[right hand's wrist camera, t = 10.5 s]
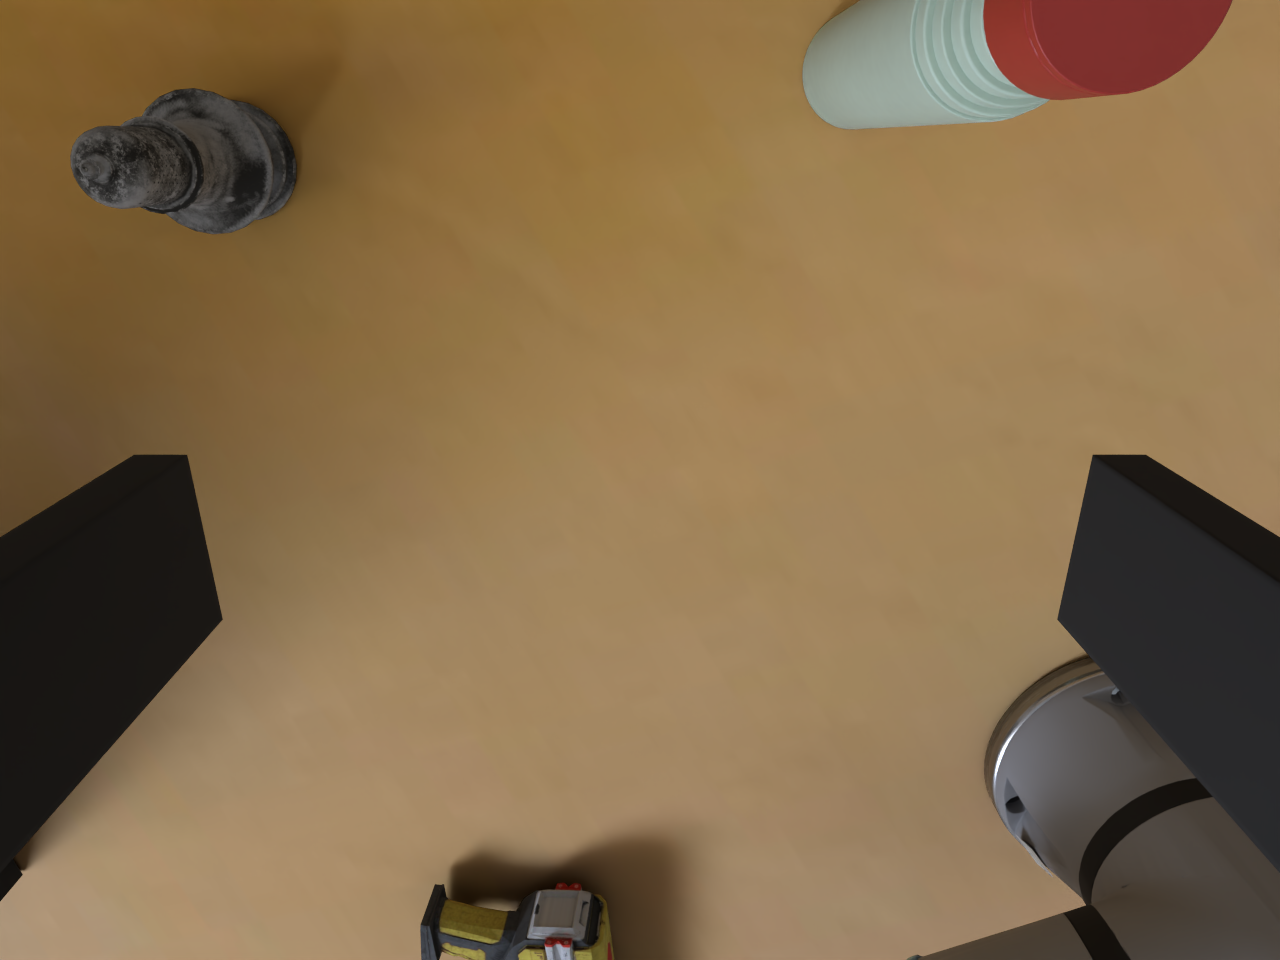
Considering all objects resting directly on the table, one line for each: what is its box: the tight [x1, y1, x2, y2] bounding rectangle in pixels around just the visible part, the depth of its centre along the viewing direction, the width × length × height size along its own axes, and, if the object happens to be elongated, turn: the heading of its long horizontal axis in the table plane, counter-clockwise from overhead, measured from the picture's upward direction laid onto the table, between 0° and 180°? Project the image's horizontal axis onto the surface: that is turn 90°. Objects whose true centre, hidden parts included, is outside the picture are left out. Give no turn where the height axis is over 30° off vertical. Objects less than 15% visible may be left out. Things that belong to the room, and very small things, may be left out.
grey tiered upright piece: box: [70, 88, 297, 234], centre depth 34 cm, size 6×6×12 cm
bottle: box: [803, 0, 1050, 129], centre depth 28 cm, size 5×5×23 cm
